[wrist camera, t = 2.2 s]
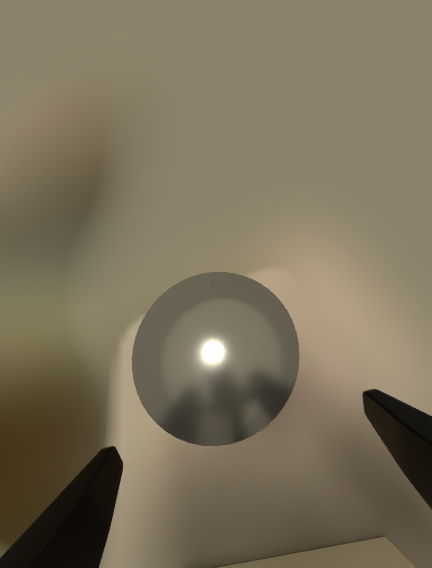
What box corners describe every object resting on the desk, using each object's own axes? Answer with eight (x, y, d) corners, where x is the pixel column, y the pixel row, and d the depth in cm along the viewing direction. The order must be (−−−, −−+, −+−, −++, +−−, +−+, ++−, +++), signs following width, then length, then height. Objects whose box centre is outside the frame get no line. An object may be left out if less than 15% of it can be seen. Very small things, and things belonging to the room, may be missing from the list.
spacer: (276, 410, 15) (334, 421, 4) (219, 423, 15) (128, 465, 4) (259, 351, 18) (266, 257, 7) (209, 362, 18) (134, 291, 7)
